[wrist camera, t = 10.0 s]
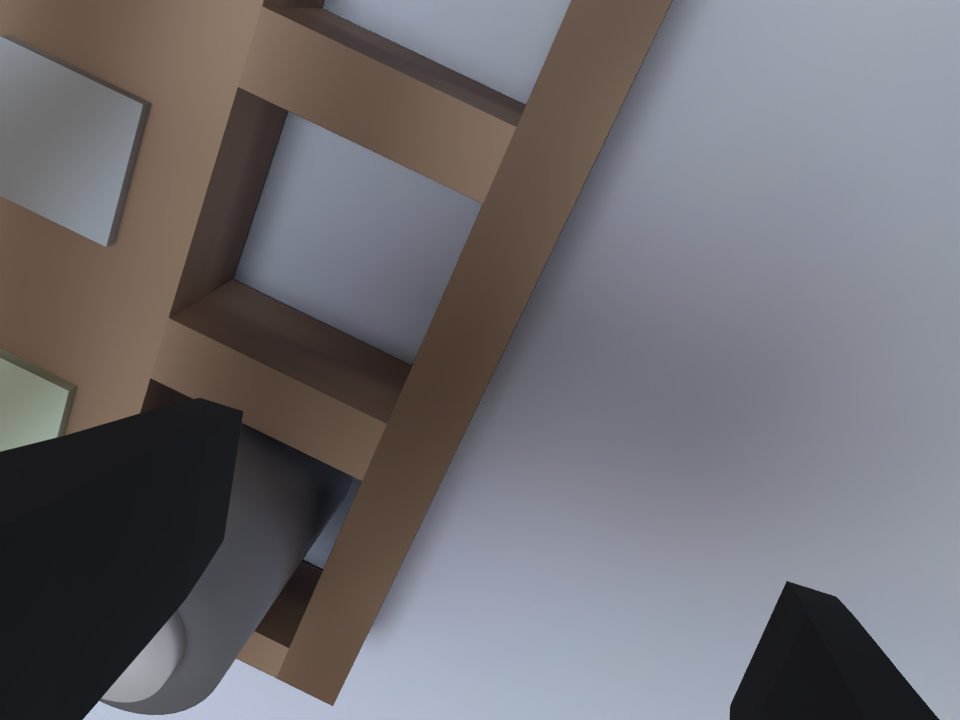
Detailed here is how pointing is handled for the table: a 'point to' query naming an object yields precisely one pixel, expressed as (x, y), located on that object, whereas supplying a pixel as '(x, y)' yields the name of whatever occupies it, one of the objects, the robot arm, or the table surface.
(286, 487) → the plug
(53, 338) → the socket board
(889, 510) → the table surface
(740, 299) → the table surface
